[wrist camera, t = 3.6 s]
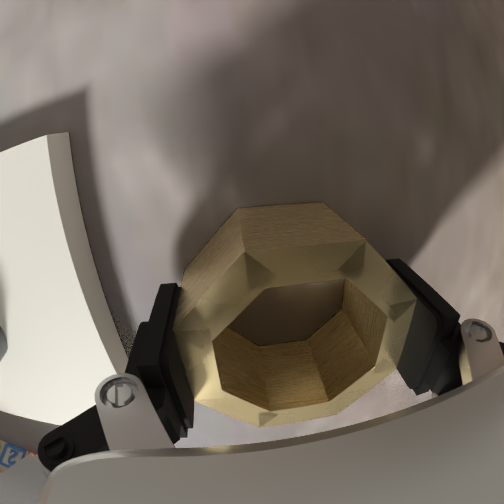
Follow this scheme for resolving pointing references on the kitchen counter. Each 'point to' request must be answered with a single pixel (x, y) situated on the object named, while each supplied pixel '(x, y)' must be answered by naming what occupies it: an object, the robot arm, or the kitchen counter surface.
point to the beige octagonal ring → (294, 353)
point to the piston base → (49, 289)
